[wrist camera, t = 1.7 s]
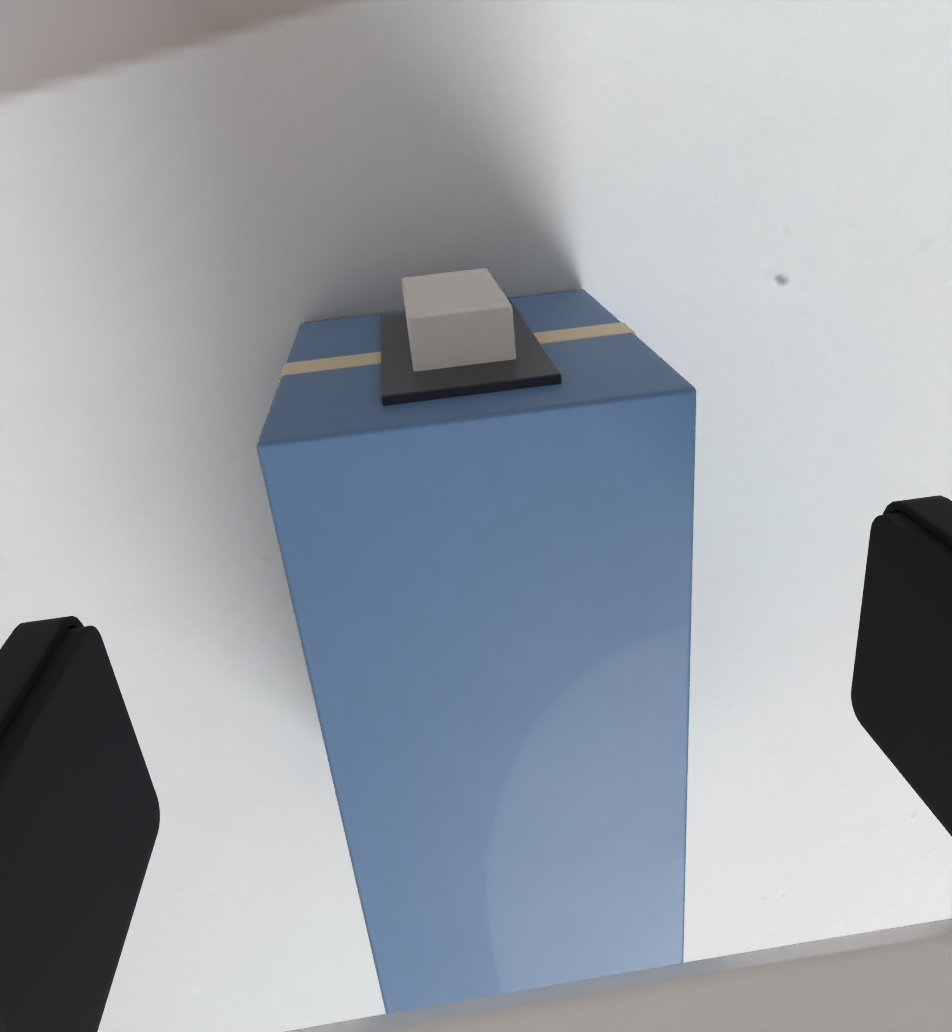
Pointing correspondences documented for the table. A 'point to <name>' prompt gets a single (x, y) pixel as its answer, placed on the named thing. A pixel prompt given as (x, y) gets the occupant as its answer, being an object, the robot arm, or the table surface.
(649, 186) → the table surface
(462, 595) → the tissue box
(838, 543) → the table surface
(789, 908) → the table surface
